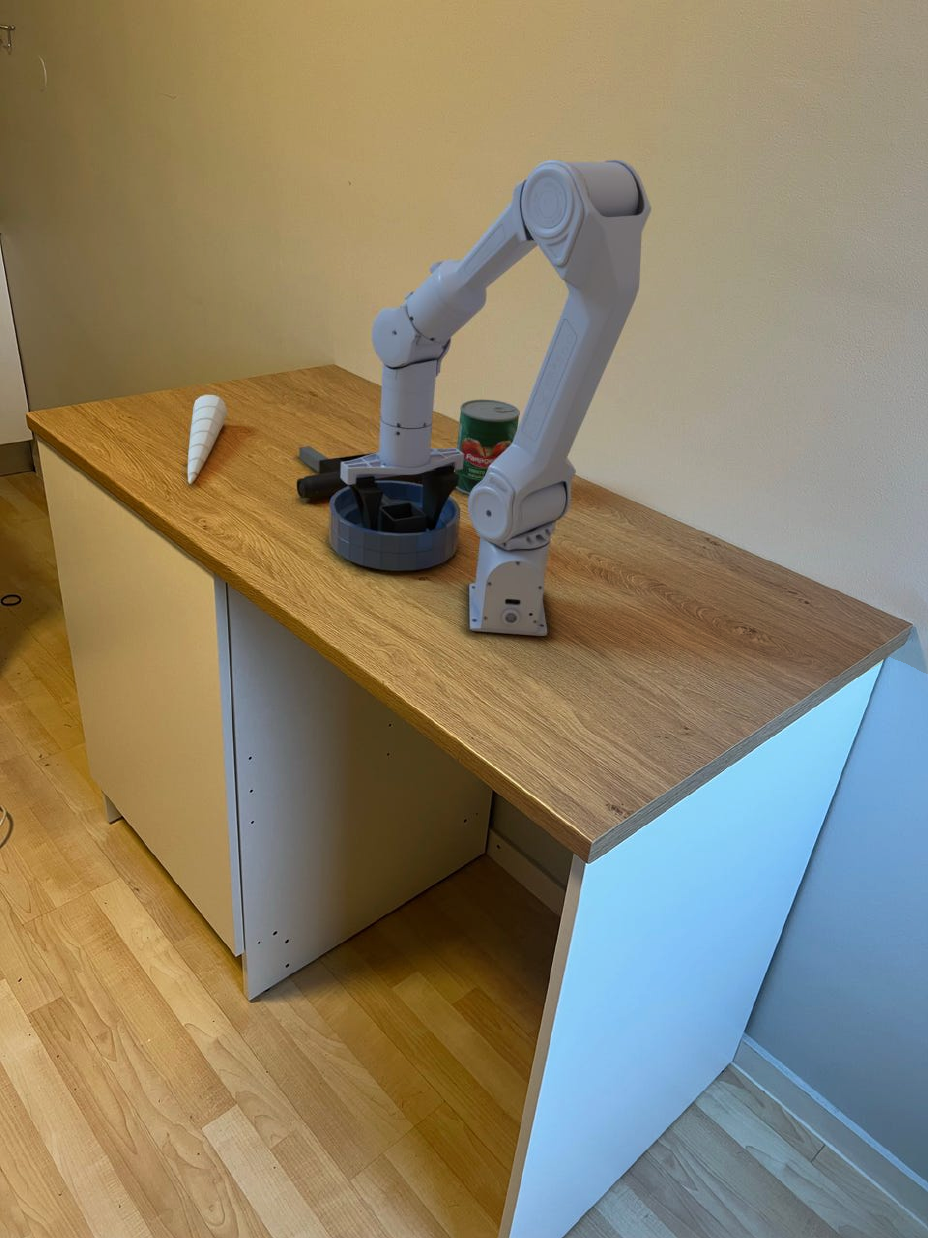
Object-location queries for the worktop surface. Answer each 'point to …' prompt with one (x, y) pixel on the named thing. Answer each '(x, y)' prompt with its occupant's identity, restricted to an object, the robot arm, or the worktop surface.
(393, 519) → the scoop
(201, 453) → the unicorn horn
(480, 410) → the canned tomato
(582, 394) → the robot arm
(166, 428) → the worktop surface
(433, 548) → the bowl
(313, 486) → the door handle
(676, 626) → the worktop surface
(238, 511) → the worktop surface
